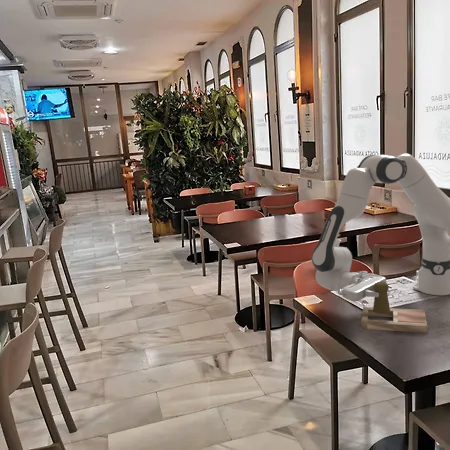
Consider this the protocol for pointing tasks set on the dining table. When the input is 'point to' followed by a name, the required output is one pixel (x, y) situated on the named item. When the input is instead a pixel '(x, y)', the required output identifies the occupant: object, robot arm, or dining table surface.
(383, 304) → the cork
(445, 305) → the dining table surface
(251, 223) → the dining table surface
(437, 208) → the robot arm
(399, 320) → the wooden frame
